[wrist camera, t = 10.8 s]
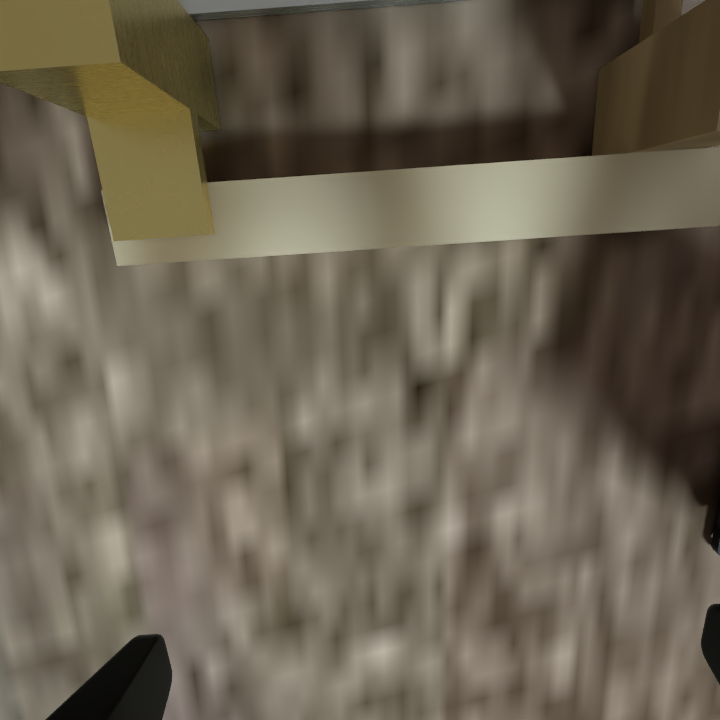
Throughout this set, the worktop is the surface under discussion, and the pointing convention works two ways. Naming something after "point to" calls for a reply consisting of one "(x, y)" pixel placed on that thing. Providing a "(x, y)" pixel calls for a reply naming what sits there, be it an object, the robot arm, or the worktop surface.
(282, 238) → the trammel beam
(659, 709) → the worktop surface
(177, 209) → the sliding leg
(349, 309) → the worktop surface
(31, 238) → the worktop surface
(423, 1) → the bolt plate
